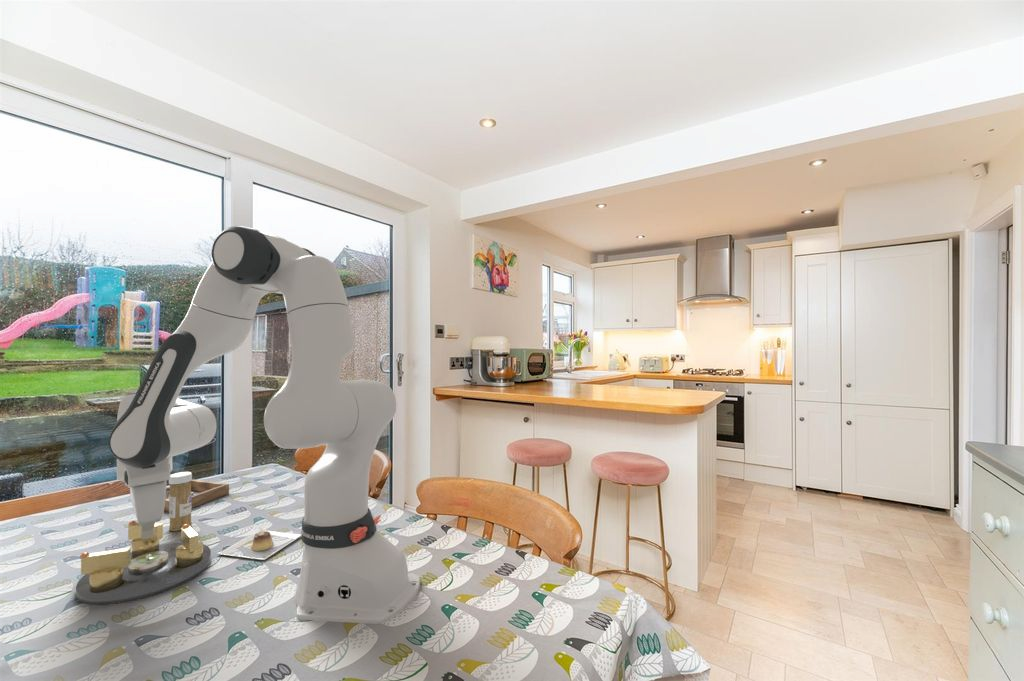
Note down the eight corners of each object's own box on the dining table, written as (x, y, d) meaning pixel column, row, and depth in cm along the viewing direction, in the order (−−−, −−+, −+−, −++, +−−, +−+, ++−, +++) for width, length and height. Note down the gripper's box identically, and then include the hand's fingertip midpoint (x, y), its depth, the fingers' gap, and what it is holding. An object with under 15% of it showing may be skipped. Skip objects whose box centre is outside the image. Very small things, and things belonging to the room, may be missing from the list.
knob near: (207, 562, 85) (207, 529, 85) (180, 571, 82) (180, 537, 82) (197, 551, 89) (197, 519, 89) (171, 559, 86) (171, 526, 86)
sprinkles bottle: (191, 528, 104) (191, 474, 104) (167, 533, 102) (167, 478, 102) (192, 522, 108) (192, 469, 108) (169, 526, 106) (169, 473, 106)
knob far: (169, 548, 90) (169, 517, 90) (149, 559, 86) (150, 526, 86) (139, 547, 91) (139, 516, 91) (119, 557, 87) (119, 525, 87)
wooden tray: (228, 493, 128) (229, 483, 128) (178, 513, 114) (178, 502, 114) (191, 489, 132) (191, 479, 132) (137, 507, 118) (137, 496, 118)
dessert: (260, 534, 103) (260, 514, 103) (303, 538, 101) (303, 518, 101) (216, 558, 91) (216, 536, 91) (264, 565, 89) (264, 542, 89)
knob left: (133, 575, 80) (133, 540, 80) (124, 587, 76) (124, 551, 76) (86, 583, 77) (86, 547, 77) (73, 597, 73) (73, 559, 73)
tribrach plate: (233, 558, 91) (233, 538, 91) (127, 617, 71) (127, 592, 71) (164, 545, 96) (164, 527, 96) (47, 597, 76) (47, 575, 76)
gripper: (121, 459, 93) (121, 521, 94) (128, 480, 79) (128, 554, 79) (158, 453, 98) (158, 513, 98) (171, 473, 84) (171, 543, 84)
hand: (145, 531), depth 88 cm, fingers open, 6 cm apart
